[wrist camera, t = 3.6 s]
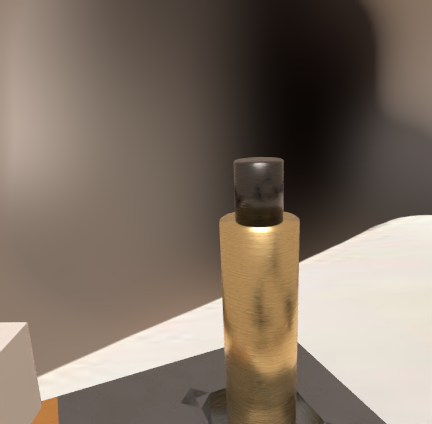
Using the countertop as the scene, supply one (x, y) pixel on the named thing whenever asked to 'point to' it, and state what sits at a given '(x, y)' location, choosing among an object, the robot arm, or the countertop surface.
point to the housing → (200, 396)
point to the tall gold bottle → (260, 296)
